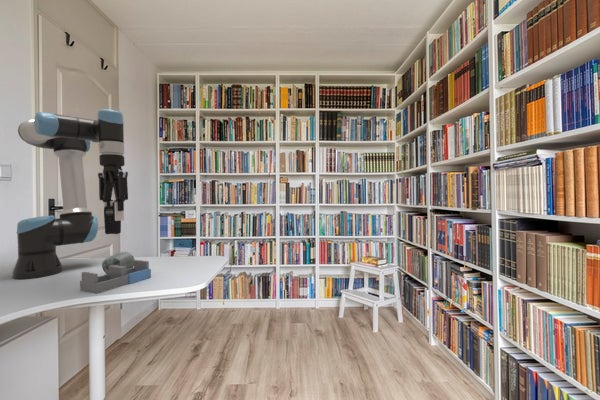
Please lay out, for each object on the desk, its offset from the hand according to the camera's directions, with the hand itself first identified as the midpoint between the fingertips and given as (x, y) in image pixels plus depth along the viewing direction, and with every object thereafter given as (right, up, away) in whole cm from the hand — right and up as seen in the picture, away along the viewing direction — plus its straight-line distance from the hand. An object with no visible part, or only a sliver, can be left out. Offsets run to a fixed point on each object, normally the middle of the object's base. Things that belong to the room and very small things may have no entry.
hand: (114, 220), depth 106 cm
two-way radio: (0, -5, 0) cm, 5 cm away
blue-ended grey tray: (+1, -23, +1) cm, 23 cm away
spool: (-7, -23, +15) cm, 28 cm away
